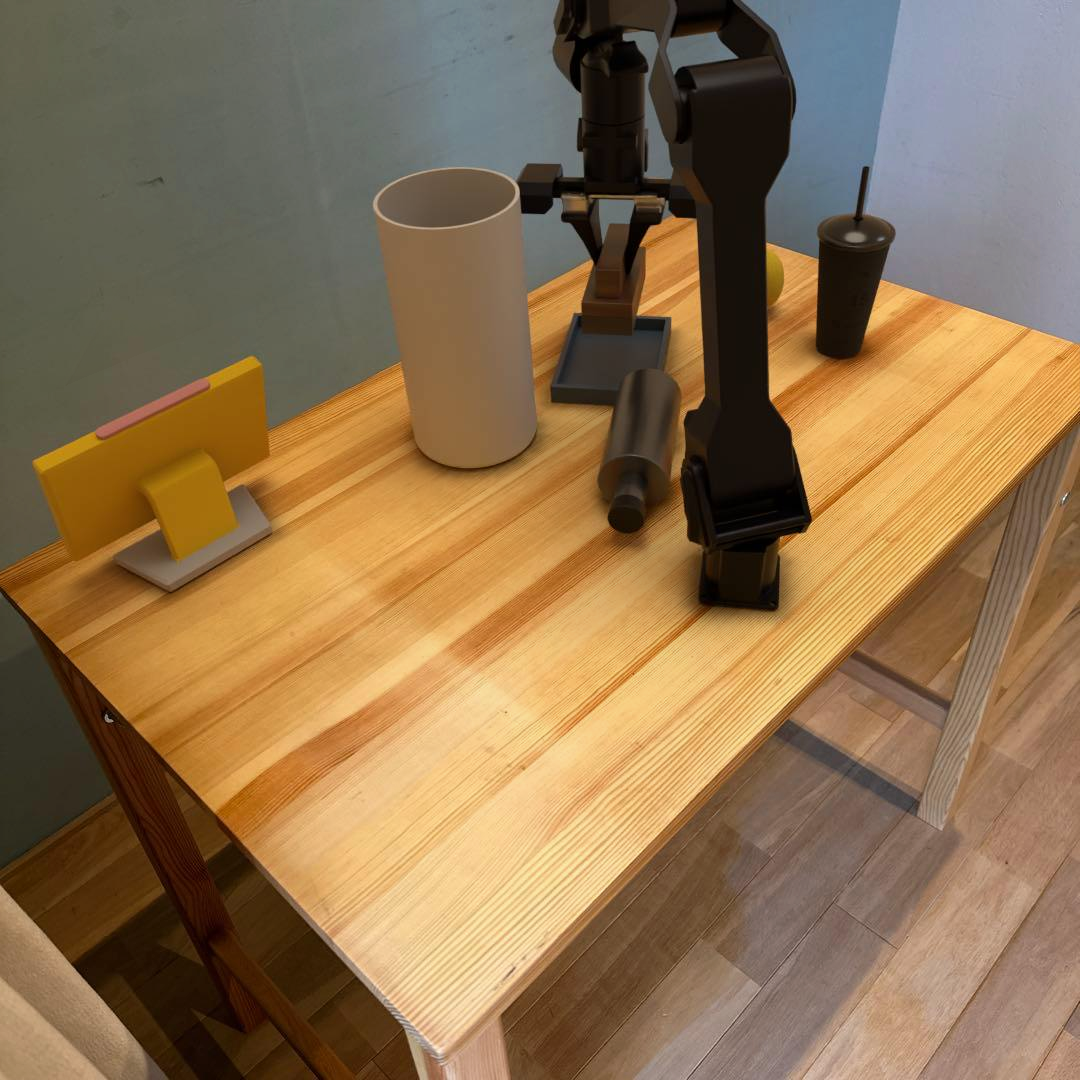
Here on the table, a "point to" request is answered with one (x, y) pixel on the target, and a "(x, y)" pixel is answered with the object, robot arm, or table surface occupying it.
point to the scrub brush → (613, 287)
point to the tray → (607, 360)
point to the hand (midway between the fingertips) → (614, 272)
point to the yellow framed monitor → (166, 478)
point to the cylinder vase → (460, 312)
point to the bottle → (639, 447)
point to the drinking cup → (849, 276)
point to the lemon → (774, 277)
